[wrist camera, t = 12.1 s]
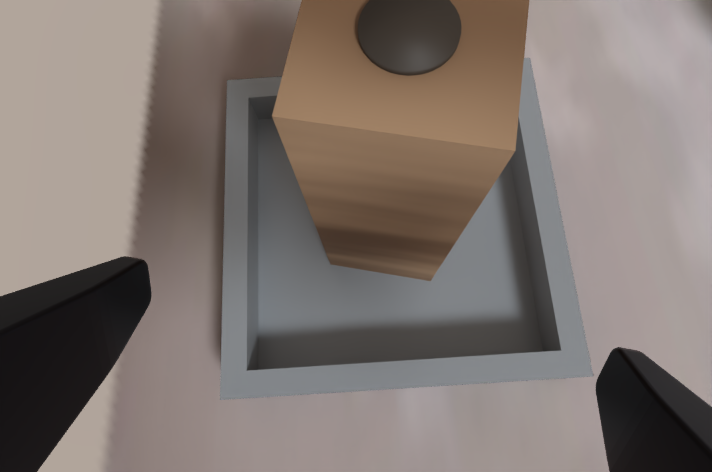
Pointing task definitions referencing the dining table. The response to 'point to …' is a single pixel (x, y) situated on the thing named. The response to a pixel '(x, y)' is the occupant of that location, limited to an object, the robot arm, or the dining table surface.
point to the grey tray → (390, 280)
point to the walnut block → (400, 122)
